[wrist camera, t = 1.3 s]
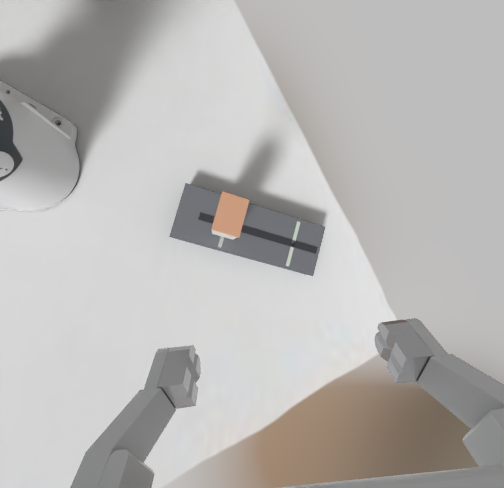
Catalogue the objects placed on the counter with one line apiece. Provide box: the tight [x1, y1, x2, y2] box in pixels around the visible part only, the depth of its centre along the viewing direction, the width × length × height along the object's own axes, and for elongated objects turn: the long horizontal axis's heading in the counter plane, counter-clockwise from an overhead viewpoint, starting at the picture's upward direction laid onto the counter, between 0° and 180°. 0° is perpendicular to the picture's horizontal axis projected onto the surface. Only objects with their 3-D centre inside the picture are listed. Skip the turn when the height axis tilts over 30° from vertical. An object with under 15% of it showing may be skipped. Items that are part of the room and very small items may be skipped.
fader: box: [211, 191, 250, 240], centre depth 32 cm, size 4×5×10 cm
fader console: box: [170, 183, 325, 276], centre depth 39 cm, size 25×9×3 cm, turn 74°
